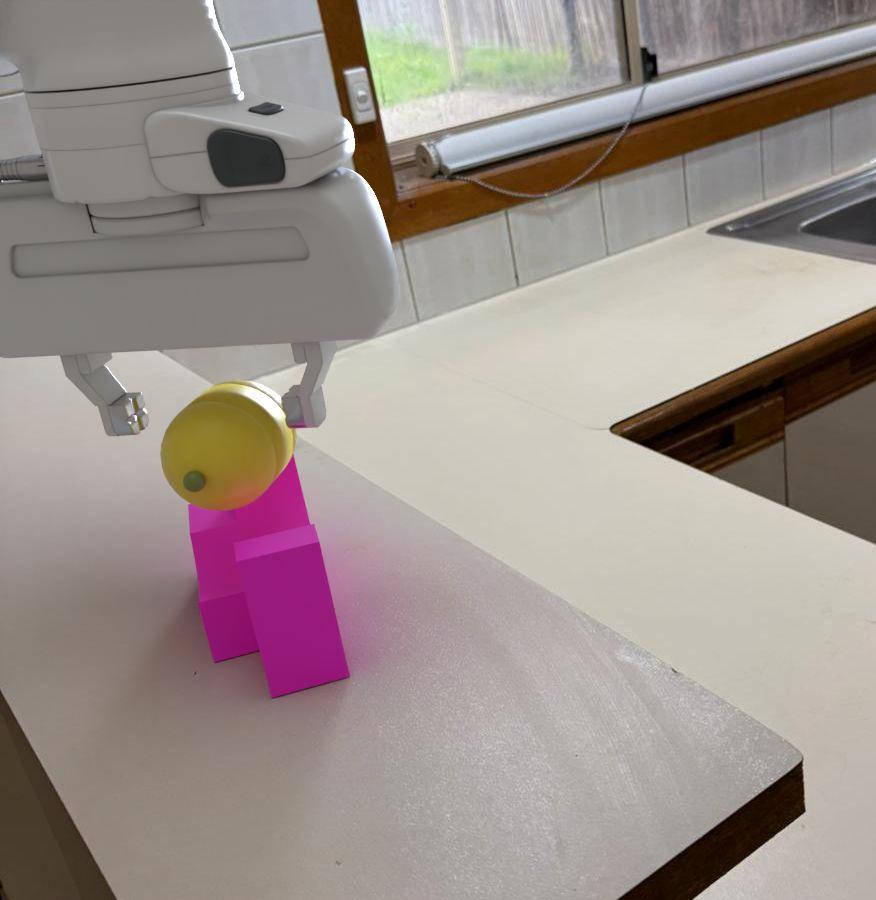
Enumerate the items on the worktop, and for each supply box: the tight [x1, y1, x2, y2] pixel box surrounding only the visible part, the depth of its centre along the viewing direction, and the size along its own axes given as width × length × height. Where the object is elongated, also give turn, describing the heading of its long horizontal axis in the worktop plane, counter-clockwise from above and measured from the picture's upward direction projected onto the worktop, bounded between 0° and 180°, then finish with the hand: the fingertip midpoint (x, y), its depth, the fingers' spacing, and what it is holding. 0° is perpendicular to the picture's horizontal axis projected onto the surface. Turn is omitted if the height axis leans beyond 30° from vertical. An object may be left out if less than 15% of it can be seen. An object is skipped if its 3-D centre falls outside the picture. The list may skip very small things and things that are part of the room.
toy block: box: [187, 453, 350, 699], centre depth 60 cm, size 15×6×8 cm, turn 20°
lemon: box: [159, 379, 297, 511], centre depth 57 cm, size 10×6×6 cm, turn 174°
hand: (217, 428), depth 57 cm, fingers open, 8 cm apart
